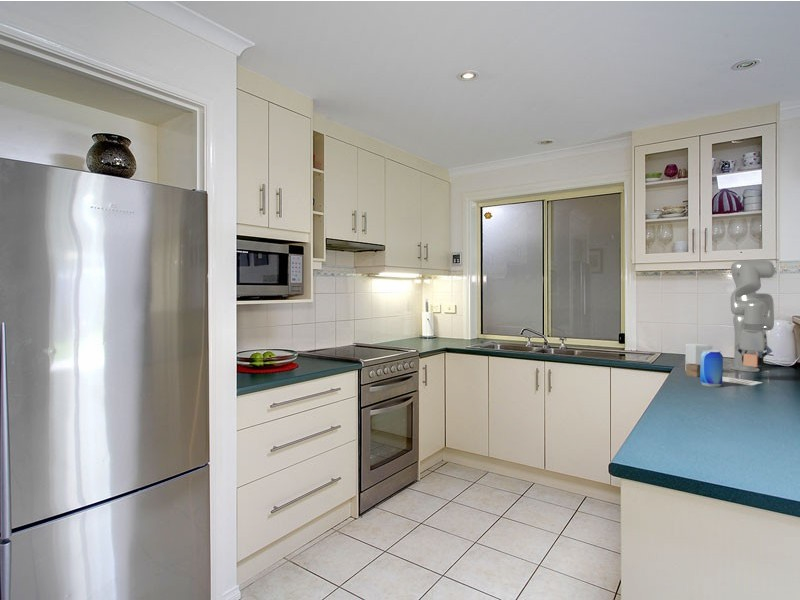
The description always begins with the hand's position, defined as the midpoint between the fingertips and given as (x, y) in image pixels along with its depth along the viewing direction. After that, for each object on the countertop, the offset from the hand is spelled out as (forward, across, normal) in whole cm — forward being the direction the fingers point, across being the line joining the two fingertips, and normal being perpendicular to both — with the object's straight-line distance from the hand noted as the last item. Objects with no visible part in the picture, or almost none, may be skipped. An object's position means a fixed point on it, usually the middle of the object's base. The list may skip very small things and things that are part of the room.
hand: (752, 363), depth 221 cm
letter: (+7, +2, +12) cm, 14 cm away
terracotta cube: (+1, 0, 0) cm, 1 cm away
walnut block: (+8, +19, +15) cm, 26 cm away
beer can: (+7, +4, +32) cm, 33 cm away
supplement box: (+8, +23, +2) cm, 25 cm away
